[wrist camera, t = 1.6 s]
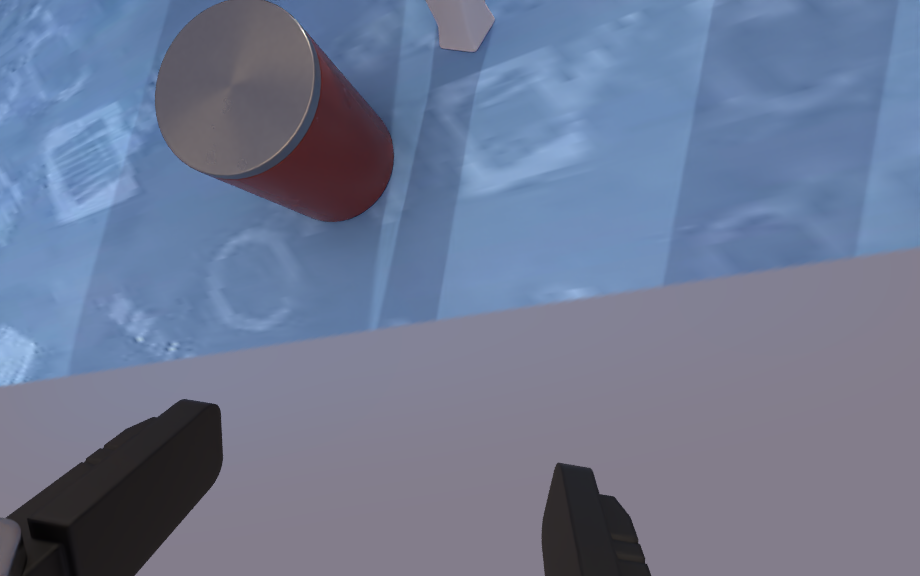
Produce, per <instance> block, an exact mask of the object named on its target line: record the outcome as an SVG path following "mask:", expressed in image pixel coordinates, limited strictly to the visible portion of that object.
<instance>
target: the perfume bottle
mask: <svg viewBox="0 0 920 576" xmlns="http://www.w3.org/2000/svg"><path fill="white" fill-rule="evenodd" d="M426 2H427V4H428V6H429V8H430V10H431V12H432V14H433V16H434V18H435V20H436V22H437V24H438V29H439V44H440V47H441V48H444V49H452V50H460V51H468V52H475V51H477V49H478V48H479V46H480V44H481V43H482V41H483V39H484V38H485V36H486V34H487V33H488V31H489V29H490V28H491V26H492V24H493V23H494V20H495V18H494V16H493V15H492V13H491V11H490V10H489V8H488V7H487V5H486V3H485V0H426Z"/></svg>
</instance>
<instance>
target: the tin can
mask: <svg viewBox="0 0 920 576" xmlns="http://www.w3.org/2000/svg"><path fill="white" fill-rule="evenodd" d="M155 108H156V116H157V120H158V124H159V128H160V130H161V133H162V135H163V138H164V139H165V141H166V143H167V145H168V146H169V148H170V149H171V150H172V151H173V153H174V154H175V155H176V156H177V157H178V158H179V159H180V160H181V161H182V162H184V163H185V164H186V165H188V166H189V167H191V168H193V169H195V170H197V171H199V172H201V173H204V174H206V175H209V176H211V177H214V178H216V179H218V180H221V181H223V182H226V183H228V184H231V185H233V186H235V187H238V188H240V189H243V190H245V191H248V192H250V193H252V194H255V195H257V196H260V197H262V198H265V199H267V200H269V201H272V202H274V203H277V204H279V205H282V206H284V207H286V208H289V209H291V210H294V211H296V212H299V213H301V214H303V215H306V216H308V217H311V218H313V219H317V220H320V221H326V222H337V221H343V220H347V219H350V218H353V217H355V216H357V215H359V214H361V213H363V212H364V211H366V210H367V209H368V208H370V207H371V206H372V205H373V204H374V203H375V202H376V201H377V199H378V198H379V197H380V196H381V194H382V193H383V191H384V190H385V188H386V186H387V184H388V182H389V179H390V176H391V173H392V168H393V160H394V152H393V144H392V139H391V136H390V133H389V131H388V129H387V127H386V125H385V124H384V122H383V121H382V120H381V118H380V117H379V116H378V115H377V114H376V113H375V111H374V110H373V109H372V108H371V107H370V106H369V104H368V103H367V102H366V101H365V100H364V99H363V97H362V96H361V95H360V94H359V93H358V92H357V90H356V89H355V88H354V87H353V86H352V85H351V83H350V82H349V81H348V80H347V79H346V78H345V76H344V75H343V74H342V73H341V72H340V71H339V69H338V68H337V67H336V66H335V65H334V64H333V62H332V61H331V60H330V59H329V58H328V57H327V55H326V54H325V53H324V52H323V51H322V50H321V48H320V47H319V46H318V45H317V44H316V43H315V41H314V40H313V39H312V38H311V37H310V36H309V34H308V33H307V32H306V31H305V30H304V29H303V27H302V26H301V25H300V24H299V23H298V22H297V21H296V19H295V18H294V17H293V16H292V15H291V14H289V13H288V12H287V11H285V10H284V9H283V8H281V7H279V6H277V5H275V4H273V3H270V2H268V1H265V0H228V1H224V2H221V3H219V4H216V5H214V6H212V7H210V8H208V9H206V10H204V11H203V12H201V13H200V14H199V15H197V16H196V17H195V18H193V19H192V20H191V21H190V22H189V23H188V24H187V25H186V26H185V27H184V28H183V29H182V30H181V31H180V32H179V34H178V35H177V36H176V38H175V39H174V41H173V42H172V44H171V45H170V47H169V49H168V51H167V52H166V55H165V57H164V59H163V61H162V64H161V67H160V70H159V73H158V78H157V83H156V91H155Z"/></svg>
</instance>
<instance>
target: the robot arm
mask: <svg viewBox="0 0 920 576" xmlns="http://www.w3.org/2000/svg"><path fill="white" fill-rule="evenodd" d="M222 461H223V450H222V430H221V412H220V408H219V406H218V405H216V404H212V403H206V402H200V401H193V400H187V399H183V400H180V401H178V402H177V403H175V404H174V405H173V406H171V407H170V408H169V409H168V410H166V411H165V412H164V413H162V414H161V415H160V416H158V417H157V418H156V417H152V418H150V419H148V420H145V421H143V422H141V423H139V424H137V425H134V426H132V427H130V428H127V429H126V430H124V431H123V432H122V433H120V434H119V435H118V436H116V437H115V438H113V439H112V440H111V441H109V442H108V443H107V444H105V445H104V448H103V449H101V448H100V449H98V450H97V451H96V452H94V453H93V454H92V455H90V456H89V457H88V458H86V461H85V462H84V463H83V462H81V463H80V464H78V465H77V466H76V467H74V468H73V469H71V470H70V471H69V472H67V473H66V474H65V475H63V476H62V477H60V478H59V479H58V480H56V481H55V482H54V483H52V484H51V485H50V486H48V487H47V488H46V489H44V490H43V491H41V492H40V493H39V494H37V495H36V496H35V497H33V498H32V499H31V500H29V501H28V502H27V503H25V504H24V505H22V506H21V507H20V508H18V509H17V510H16V511H14V512H13V513H12V514H10V515H9V516H8V517H6V518H0V576H135V574H136V573H137V572H138V571H139V570H140V569H141V568H142V566H143V565H144V564H145V563H146V562H147V561H148V559H149V558H150V557H151V556H152V555H153V554H154V552H155V551H156V550H157V549H158V548H159V547H160V546H161V544H162V543H163V542H164V541H165V540H166V539H167V537H168V536H169V535H170V534H171V533H172V532H173V531H174V529H175V528H176V527H177V526H178V525H179V524H180V523H181V521H182V520H183V519H184V518H185V517H186V516H187V514H188V513H189V512H190V511H191V510H192V509H193V507H194V506H195V505H196V504H197V503H198V502H199V501H200V499H201V498H202V497H203V496H204V495H205V494H206V493H207V491H208V490H209V489H210V488H211V487H212V485H213V484H214V483H215V481H216V479H217V477H218V475H219V472H220V470H221V466H222ZM542 551H543V561H544V571H545V576H651V574H650V571H649V568H648V566H647V564H645V557H644V554H643V552H642V549H641V546H640V544H638V537H637V535H636V532H635V529H634V526H633V523H632V520H631V518H630V516H629V515H628V514H627V513H626V511H625V510H624V509H623V507H622V506H621V505H620V504H619V502H618V501H617V500H616V498H615V497H613V496H607V495H601V494H599V491H598V488H597V484H596V481H595V477H594V474H593V471H592V469H591V468H587V467H580V466H575V465H569V464H563V463H557V465H556V467H555V470H554V474H553V478H552V482H551V486H550V490H549V495H548V499H547V503H546V507H545V512H544V517H543V523H542Z"/></svg>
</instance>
